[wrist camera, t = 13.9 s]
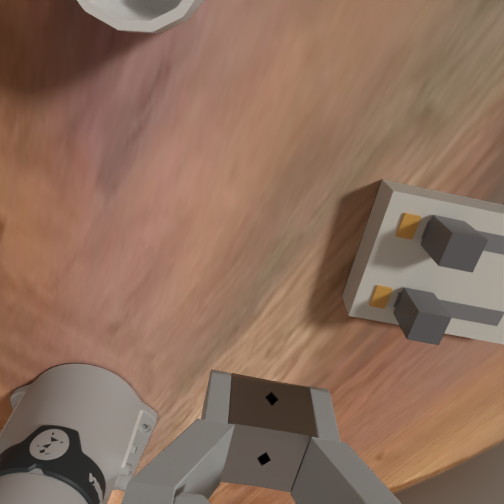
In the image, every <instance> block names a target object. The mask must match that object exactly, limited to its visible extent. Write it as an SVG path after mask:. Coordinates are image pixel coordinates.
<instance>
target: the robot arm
mask: <svg viewBox="0 0 504 504" xmlns="http://www.w3.org/2000/svg"><path fill="white" fill-rule="evenodd" d="M10 402H11V405H12V409H13V412H12V414H11V415H10V417H9V419H8V421H7V422H6V424H5V426H4V427H3V429H2V431H1V433H0V504H107V503H108V501H109V498H110V495H111V493H112V490H117V489H119V490H122V491H125V494H124V497H123V500H122V503H121V504H209V503H210V502H209V501H208V499H209V498H210V496H211V495H212V494H213V492H214V491H215V490H216V488H217V487H218V486H219V484H220V482H227V483H235V484H244V485H252V486H259V487H264V488H270V489H275V490H281V491H286V492H291V496H292V497H293V499H294V501H295V503H296V504H401V503H400V501H399V500H398V499H397V498H396V497H395V496H394V495H393V494H392V492H391V491H390V490H389V489H388V488H387V487H386V486H385V485H384V484H383V482H382V481H381V480H380V479H379V478H378V477H377V476H376V475H375V474H374V472H373V471H372V470H371V469H370V468H369V467H368V466H367V465H366V464H365V462H364V461H363V460H362V459H361V458H360V457H359V456H358V455H357V454H356V452H355V451H354V450H353V449H352V448H351V447H350V446H349V445H348V444H347V443H346V442H341V440H340V436H339V431H338V427H337V422H336V418H335V413H334V409H333V404H332V400H331V395H330V392H329V390H328V389H324V388H317V387H310V386H308V387H307V386H301V385H295V384H289V383H283V382H277V381H270V380H265V379H260V378H255V377H250V376H245V375H240V374H234V373H232V374H231V373H227V372H222V371H217V370H211V373H210V377H209V382H208V386H207V391H206V396H205V401H204V405H203V410H202V415H201V419H197V420H196V421H195V422H194V423H192V424H191V425H190V426H189V427H188V428H187V429H186V430H185V431H184V432H183V433H181V434H180V435H179V436H178V437H177V438H176V439H175V440H174V441H173V442H172V443H170V444H169V445H168V446H167V447H166V448H165V449H164V450H163V451H162V452H161V453H159V454H158V455H157V456H156V457H155V458H154V459H153V460H152V461H151V462H150V463H148V464H147V465H146V466H145V467H144V468H143V469H142V470H141V471H140V472H138V473H137V474H136V475H135V476H134V477H133V478H132V476H133V474H134V472H135V469H136V467H137V465H138V463H139V460H140V458H141V456H142V454H143V451H144V449H145V447H146V445H147V442H148V440H149V438H150V436H151V433H152V431H153V429H154V426H155V424H156V422H157V419H158V415H157V413H156V412H155V411H154V410H153V409H151V408H150V407H149V406H147V405H146V404H144V403H143V402H142V401H141V400H140V399H139V398H138V396H137V395H136V393H135V392H134V390H133V389H132V388H131V387H130V386H129V385H128V384H127V383H126V382H125V381H124V380H123V379H121V378H120V377H119V376H117V375H115V374H114V373H112V372H110V371H108V370H105V369H103V368H100V367H96V366H92V365H87V364H65V365H60V366H57V367H54V368H51V369H49V370H47V371H46V372H44V373H43V374H41V375H40V376H39V377H38V378H37V379H36V380H35V381H34V382H33V383H31V384H29V385H26V386H23V387H20V388H18V389H16V390H15V391H14V392H13V394H12V395H11V397H10Z"/></svg>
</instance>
